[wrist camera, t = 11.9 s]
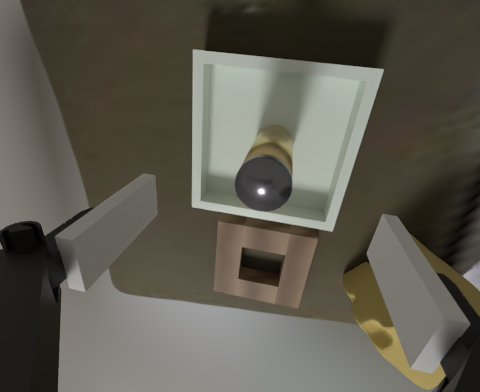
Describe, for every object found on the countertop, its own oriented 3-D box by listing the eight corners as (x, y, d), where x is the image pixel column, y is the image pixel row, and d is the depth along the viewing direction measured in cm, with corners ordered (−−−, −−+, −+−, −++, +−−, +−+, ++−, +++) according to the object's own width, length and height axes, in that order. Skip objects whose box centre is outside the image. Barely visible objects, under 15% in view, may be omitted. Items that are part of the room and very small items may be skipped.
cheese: (340, 274, 35) (356, 344, 26) (411, 225, 30) (460, 292, 22) (393, 315, 37) (424, 393, 28) (469, 275, 32) (536, 356, 23)
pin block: (316, 227, 32) (318, 239, 30) (297, 294, 38) (297, 308, 36) (222, 210, 34) (218, 221, 32) (218, 278, 39) (213, 290, 37)
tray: (372, 68, 24) (384, 69, 21) (328, 215, 31) (332, 231, 28) (204, 51, 26) (192, 49, 23) (201, 193, 33) (191, 206, 30)
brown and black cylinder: (296, 127, 26) (297, 164, 17) (288, 164, 28) (285, 216, 19) (258, 121, 27) (237, 154, 17) (252, 158, 29) (231, 205, 19)
